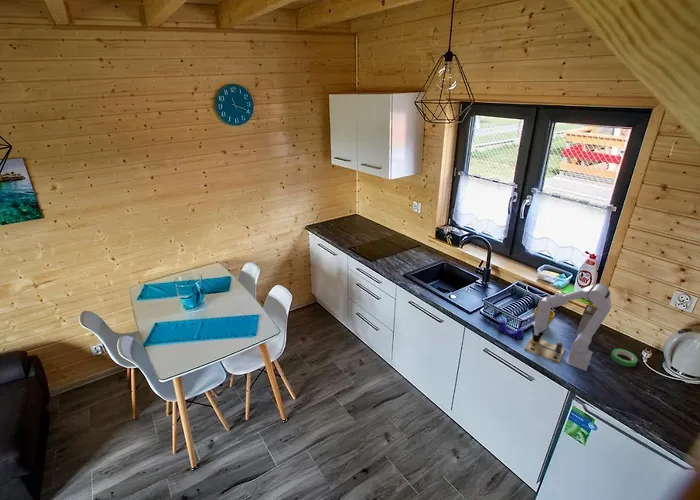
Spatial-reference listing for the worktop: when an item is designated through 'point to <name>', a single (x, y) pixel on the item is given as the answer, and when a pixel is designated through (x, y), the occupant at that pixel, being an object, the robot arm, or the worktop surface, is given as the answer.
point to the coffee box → (586, 318)
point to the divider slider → (536, 342)
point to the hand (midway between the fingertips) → (536, 339)
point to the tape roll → (621, 361)
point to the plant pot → (549, 315)
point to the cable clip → (510, 332)
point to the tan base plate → (546, 350)
